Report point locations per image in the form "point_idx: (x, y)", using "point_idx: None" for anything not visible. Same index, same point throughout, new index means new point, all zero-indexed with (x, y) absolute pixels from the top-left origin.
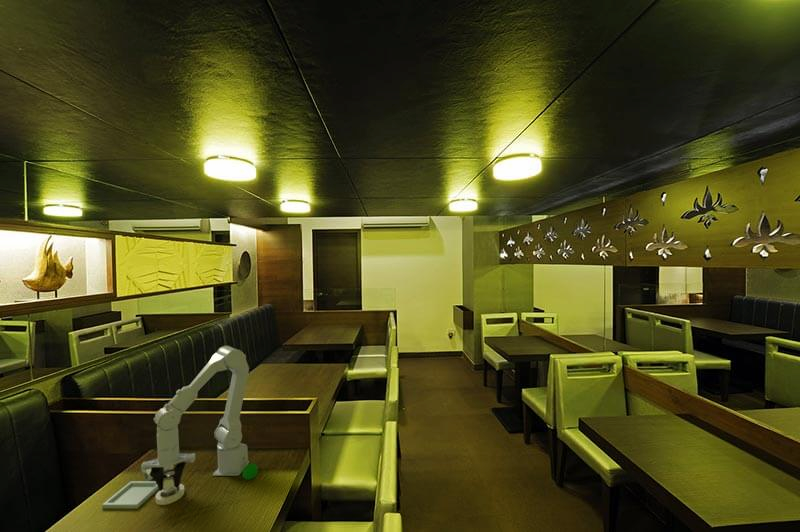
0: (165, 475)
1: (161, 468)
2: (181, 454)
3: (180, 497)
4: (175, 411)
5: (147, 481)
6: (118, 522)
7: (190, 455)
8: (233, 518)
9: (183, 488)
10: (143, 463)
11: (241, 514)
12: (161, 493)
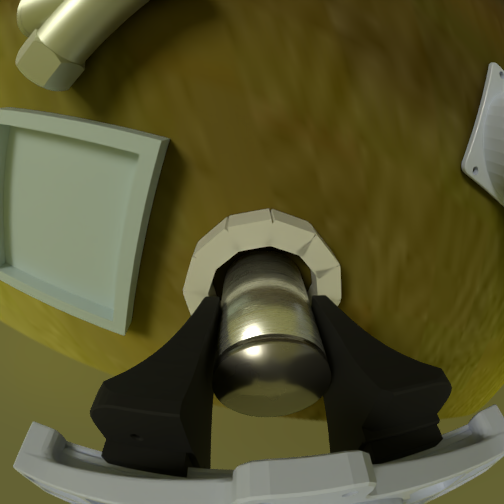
0: (238, 385)
1: (199, 446)
2: (432, 480)
3: None
4: None
5: (65, 121)
6: (110, 365)
7: (479, 471)
8: (444, 406)
9: (338, 291)
10: (34, 482)
11: (460, 397)
12: (210, 285)
